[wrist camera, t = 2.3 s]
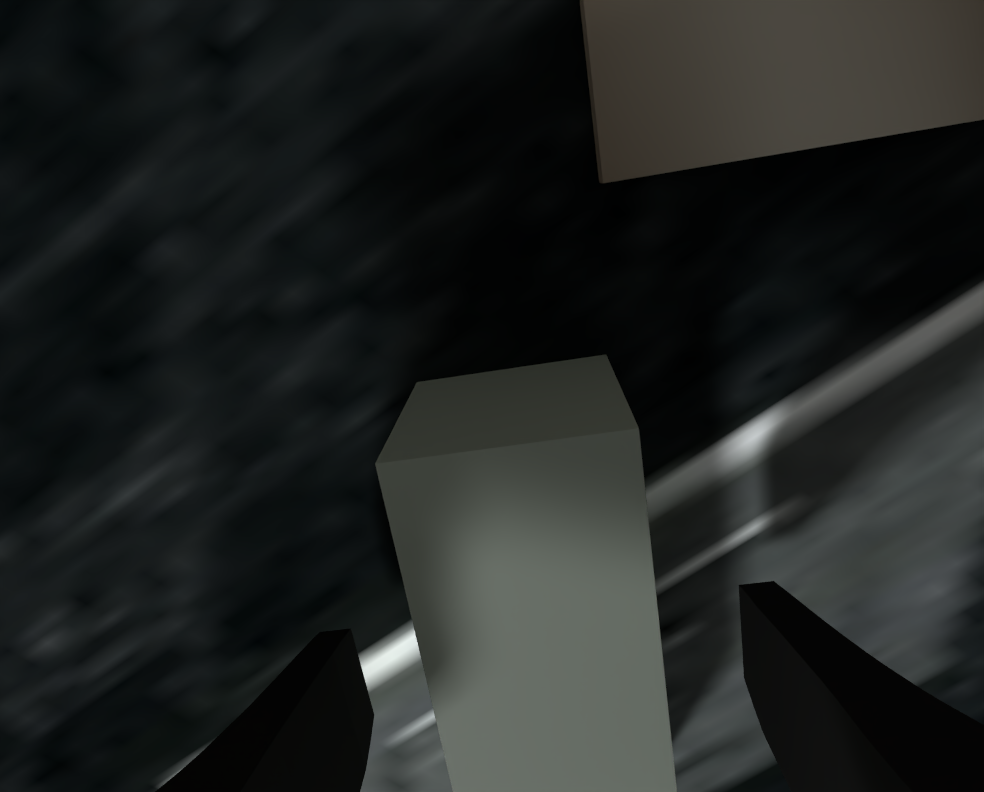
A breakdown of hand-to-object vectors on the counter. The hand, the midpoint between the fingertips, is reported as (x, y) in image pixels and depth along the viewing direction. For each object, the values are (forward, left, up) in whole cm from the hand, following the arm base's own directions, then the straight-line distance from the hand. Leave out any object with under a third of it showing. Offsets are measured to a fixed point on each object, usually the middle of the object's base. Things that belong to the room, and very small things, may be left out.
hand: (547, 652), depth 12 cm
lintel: (0, 0, -2) cm, 2 cm away
